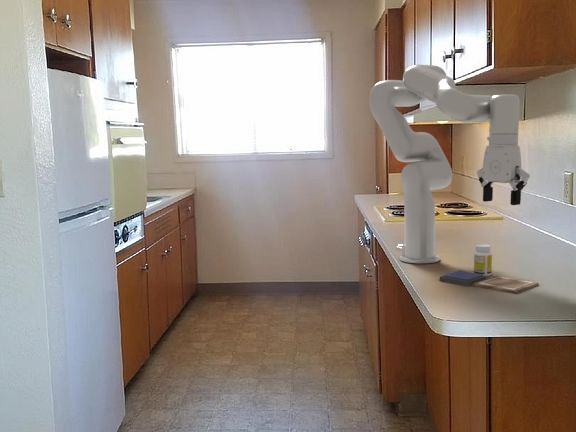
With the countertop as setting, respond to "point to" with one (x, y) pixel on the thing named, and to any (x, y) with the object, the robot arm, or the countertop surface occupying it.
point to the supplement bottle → (483, 260)
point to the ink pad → (462, 278)
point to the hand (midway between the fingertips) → (501, 202)
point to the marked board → (506, 284)
